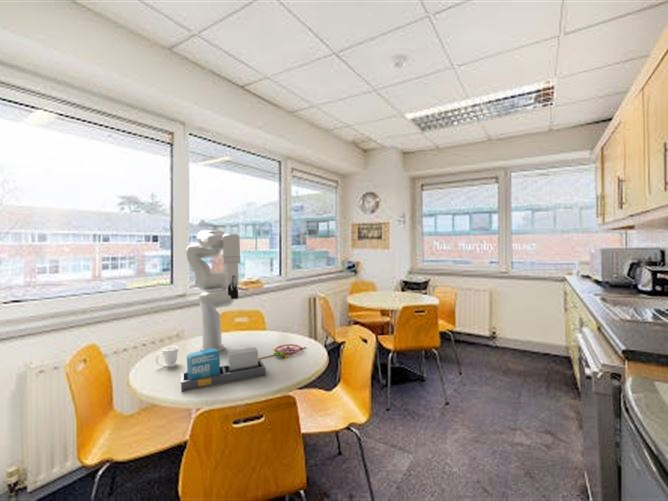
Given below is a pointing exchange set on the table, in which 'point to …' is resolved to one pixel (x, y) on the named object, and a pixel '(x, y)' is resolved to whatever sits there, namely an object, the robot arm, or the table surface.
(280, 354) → the mechanical gear assembly
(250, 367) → the rack
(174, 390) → the table surface
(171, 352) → the cup
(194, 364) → the data package
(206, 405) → the table surface
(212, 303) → the robot arm
